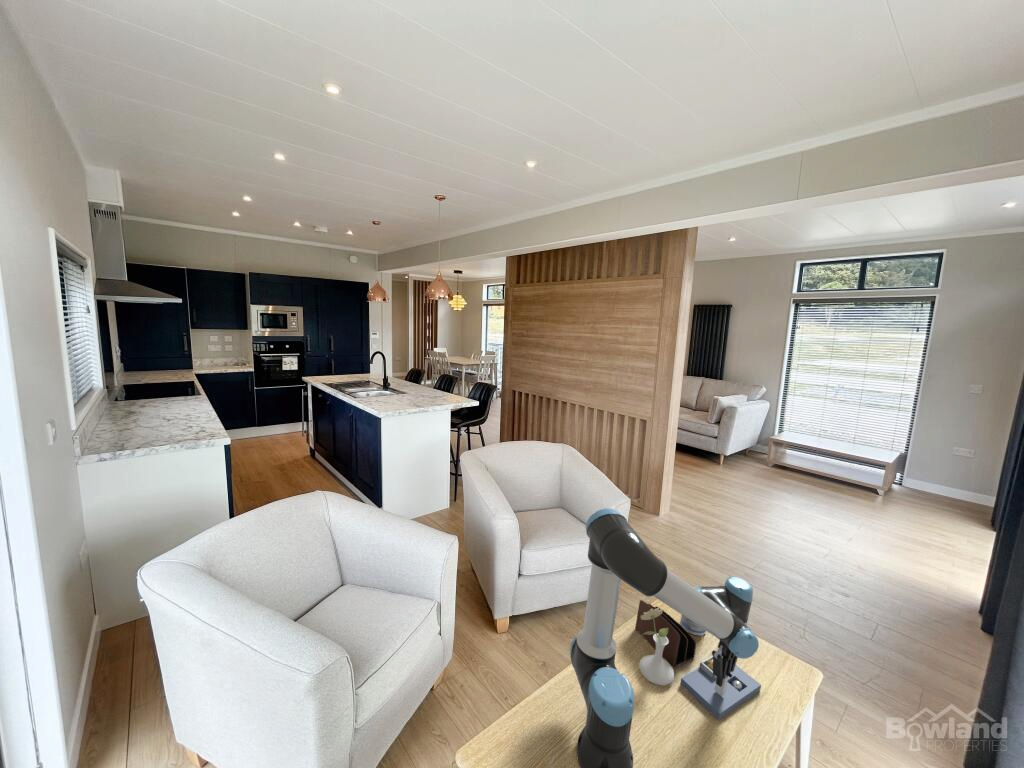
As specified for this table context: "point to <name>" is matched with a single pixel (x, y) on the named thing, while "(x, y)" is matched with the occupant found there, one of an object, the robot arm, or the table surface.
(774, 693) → the table surface
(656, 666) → the flower in vase
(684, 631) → the letter holder
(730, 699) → the deck
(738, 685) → the steel ball
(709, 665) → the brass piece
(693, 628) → the supplement tub
